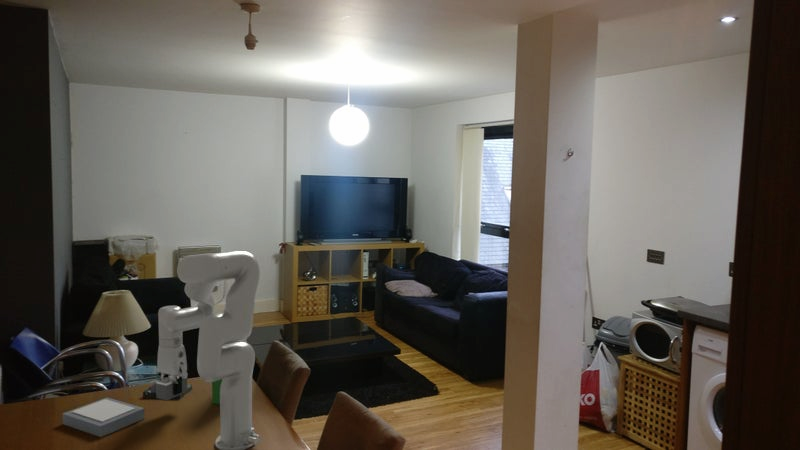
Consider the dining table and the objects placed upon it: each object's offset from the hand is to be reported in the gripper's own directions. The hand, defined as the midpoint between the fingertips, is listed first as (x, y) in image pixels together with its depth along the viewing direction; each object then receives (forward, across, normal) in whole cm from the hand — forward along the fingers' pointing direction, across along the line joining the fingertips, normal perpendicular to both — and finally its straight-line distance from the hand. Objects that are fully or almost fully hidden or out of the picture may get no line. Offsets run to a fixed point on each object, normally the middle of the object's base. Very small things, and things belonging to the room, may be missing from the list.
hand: (172, 391), depth 193 cm
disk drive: (+8, +16, -12) cm, 22 cm away
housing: (+1, 0, 0) cm, 1 cm away
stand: (+7, +14, +16) cm, 23 cm away
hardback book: (+8, -6, -22) cm, 24 cm away
